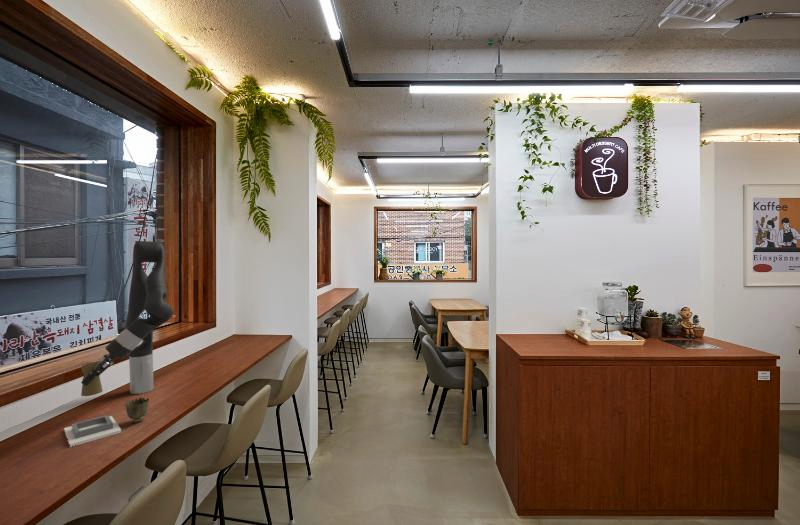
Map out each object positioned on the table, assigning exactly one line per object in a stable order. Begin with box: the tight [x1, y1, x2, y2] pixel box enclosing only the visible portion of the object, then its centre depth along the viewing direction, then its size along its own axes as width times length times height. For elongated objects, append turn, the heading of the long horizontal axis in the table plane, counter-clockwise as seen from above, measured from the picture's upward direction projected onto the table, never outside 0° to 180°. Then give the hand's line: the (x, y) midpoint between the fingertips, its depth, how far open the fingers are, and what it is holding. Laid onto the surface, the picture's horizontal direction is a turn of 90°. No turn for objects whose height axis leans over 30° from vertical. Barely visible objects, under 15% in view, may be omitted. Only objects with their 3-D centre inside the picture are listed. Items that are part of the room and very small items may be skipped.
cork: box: [80, 361, 103, 397], centre depth 137 cm, size 6×6×11 cm
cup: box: [125, 397, 150, 424], centre depth 145 cm, size 8×7×8 cm
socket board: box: [63, 414, 122, 448], centre depth 137 cm, size 18×14×3 cm
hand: (84, 382), depth 135 cm, fingers closed on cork, 4 cm apart
